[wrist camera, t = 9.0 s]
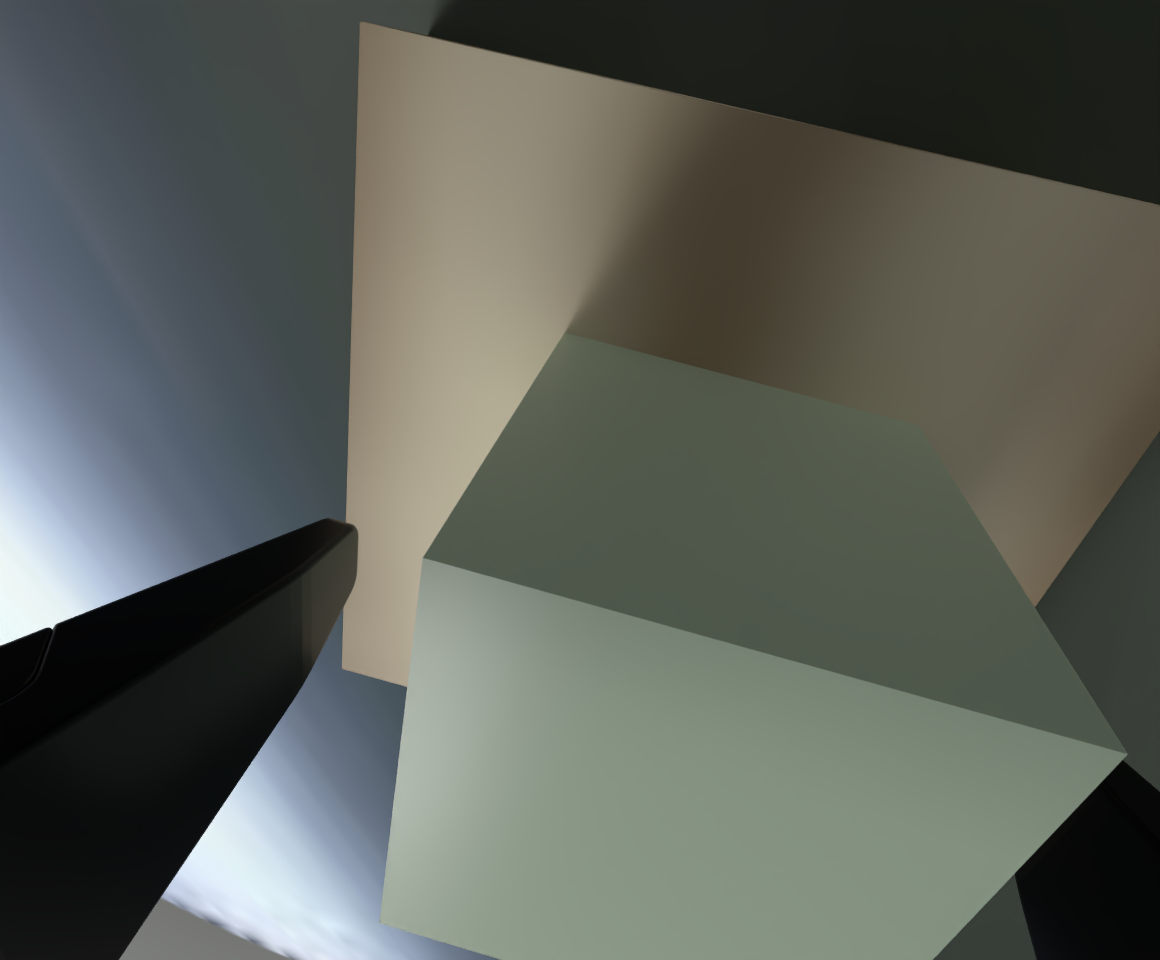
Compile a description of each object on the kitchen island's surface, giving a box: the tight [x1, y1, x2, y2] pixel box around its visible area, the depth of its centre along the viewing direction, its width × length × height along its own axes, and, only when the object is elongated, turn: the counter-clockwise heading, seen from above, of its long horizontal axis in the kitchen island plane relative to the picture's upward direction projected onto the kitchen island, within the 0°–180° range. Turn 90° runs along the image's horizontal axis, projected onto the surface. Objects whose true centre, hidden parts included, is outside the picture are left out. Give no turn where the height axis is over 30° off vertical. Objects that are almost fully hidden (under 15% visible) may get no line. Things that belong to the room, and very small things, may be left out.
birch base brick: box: [342, 21, 1160, 687], centre depth 13 cm, size 12×12×3 cm
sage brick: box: [380, 332, 1128, 960], centre depth 9 cm, size 6×6×6 cm
